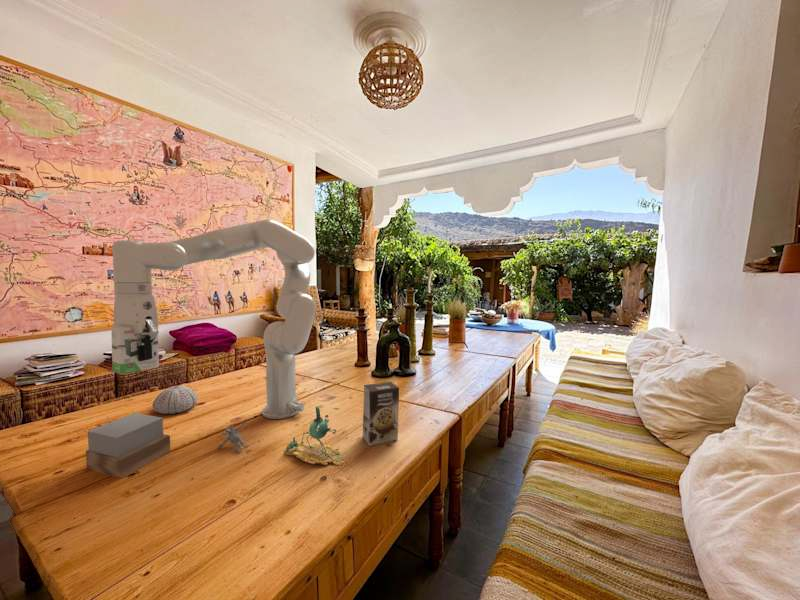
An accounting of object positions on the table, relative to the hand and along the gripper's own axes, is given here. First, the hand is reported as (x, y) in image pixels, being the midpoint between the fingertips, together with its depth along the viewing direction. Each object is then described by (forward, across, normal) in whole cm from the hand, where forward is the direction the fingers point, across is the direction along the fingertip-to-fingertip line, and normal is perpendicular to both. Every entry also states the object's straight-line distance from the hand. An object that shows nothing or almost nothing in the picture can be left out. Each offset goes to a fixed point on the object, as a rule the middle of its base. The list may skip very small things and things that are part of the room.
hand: (136, 357), depth 86 cm
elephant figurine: (+26, -21, -12) cm, 35 cm away
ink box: (+3, 0, 0) cm, 3 cm away
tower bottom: (+26, -1, +3) cm, 27 cm away
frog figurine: (+26, -44, -15) cm, 54 cm away
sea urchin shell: (+26, +17, -24) cm, 39 cm away
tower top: (+21, -1, +3) cm, 22 cm away
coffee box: (+26, -58, -29) cm, 69 cm away
